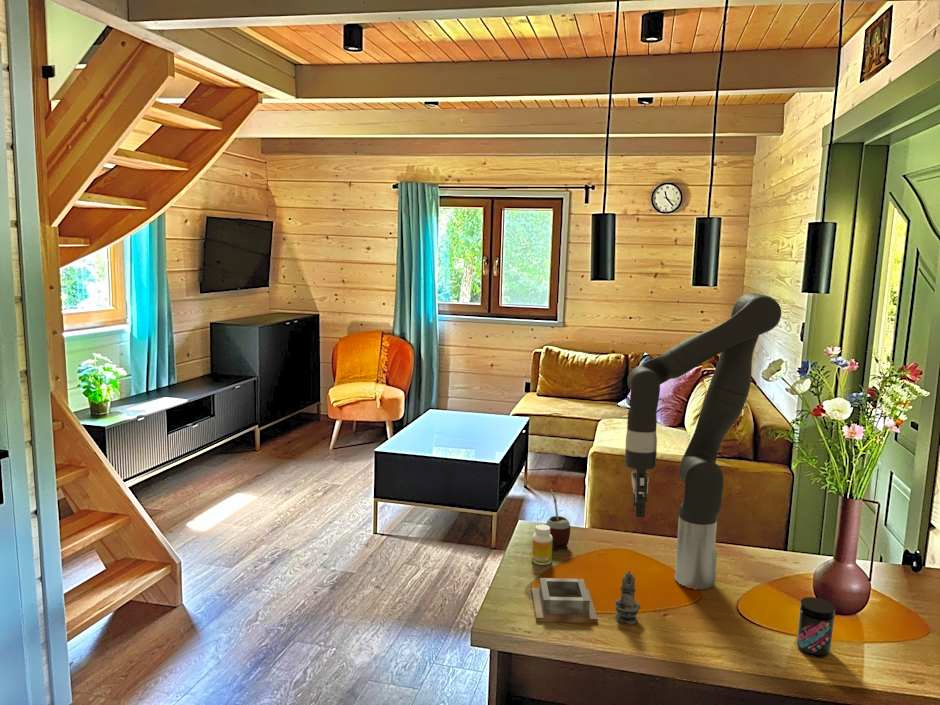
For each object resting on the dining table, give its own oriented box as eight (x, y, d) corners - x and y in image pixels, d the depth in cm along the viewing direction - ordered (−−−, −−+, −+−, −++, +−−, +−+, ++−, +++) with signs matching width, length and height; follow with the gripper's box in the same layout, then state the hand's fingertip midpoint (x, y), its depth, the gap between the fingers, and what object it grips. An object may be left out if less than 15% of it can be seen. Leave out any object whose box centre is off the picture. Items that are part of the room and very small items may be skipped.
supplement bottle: (552, 565, 193) (553, 531, 192) (532, 565, 193) (533, 530, 192) (550, 556, 199) (552, 523, 197) (531, 556, 199) (532, 522, 197)
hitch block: (588, 592, 179) (589, 575, 178) (597, 623, 165) (598, 604, 165) (531, 591, 179) (532, 574, 178) (536, 621, 165) (536, 603, 165)
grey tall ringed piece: (640, 615, 169) (643, 567, 167) (638, 628, 164) (641, 578, 162) (615, 610, 171) (618, 562, 169) (611, 623, 165) (614, 573, 163)
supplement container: (789, 644, 158) (793, 600, 156) (811, 638, 161) (816, 594, 159) (814, 661, 152) (819, 615, 150) (837, 654, 154) (842, 609, 153)
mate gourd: (563, 553, 201) (565, 502, 198) (537, 547, 205) (539, 496, 202) (574, 544, 207) (576, 494, 204) (548, 537, 211) (550, 488, 208)
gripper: (659, 455, 172) (656, 521, 173) (654, 442, 186) (651, 503, 187) (627, 453, 173) (624, 519, 175) (624, 440, 187) (622, 501, 189)
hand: (638, 511), depth 181 cm, fingers open, 8 cm apart
